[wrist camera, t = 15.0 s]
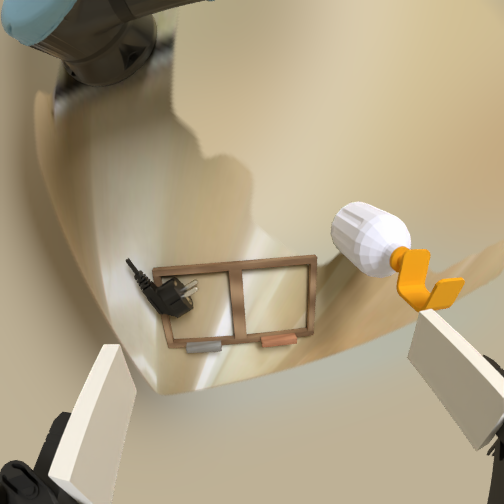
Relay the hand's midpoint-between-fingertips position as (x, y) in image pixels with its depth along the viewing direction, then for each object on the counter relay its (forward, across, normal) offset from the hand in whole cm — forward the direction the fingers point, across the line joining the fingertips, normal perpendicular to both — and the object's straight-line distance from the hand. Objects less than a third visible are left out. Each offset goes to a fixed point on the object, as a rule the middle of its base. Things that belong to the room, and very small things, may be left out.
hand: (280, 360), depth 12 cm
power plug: (+31, -14, -4) cm, 35 cm away
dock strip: (+35, -1, -16) cm, 38 cm away
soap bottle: (+35, +19, -5) cm, 40 cm away
